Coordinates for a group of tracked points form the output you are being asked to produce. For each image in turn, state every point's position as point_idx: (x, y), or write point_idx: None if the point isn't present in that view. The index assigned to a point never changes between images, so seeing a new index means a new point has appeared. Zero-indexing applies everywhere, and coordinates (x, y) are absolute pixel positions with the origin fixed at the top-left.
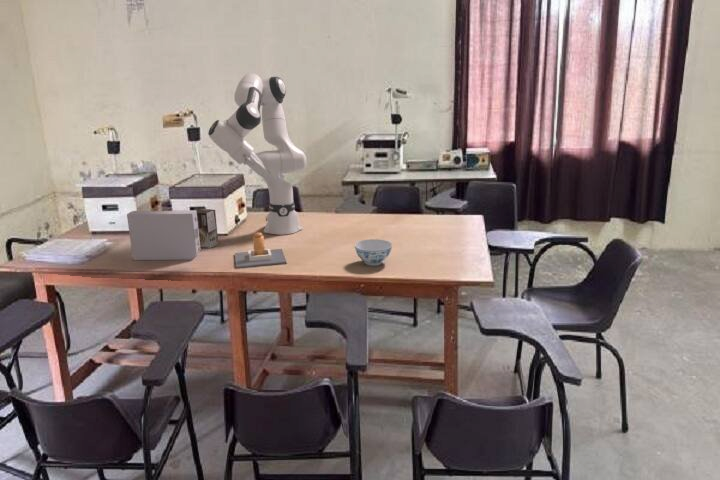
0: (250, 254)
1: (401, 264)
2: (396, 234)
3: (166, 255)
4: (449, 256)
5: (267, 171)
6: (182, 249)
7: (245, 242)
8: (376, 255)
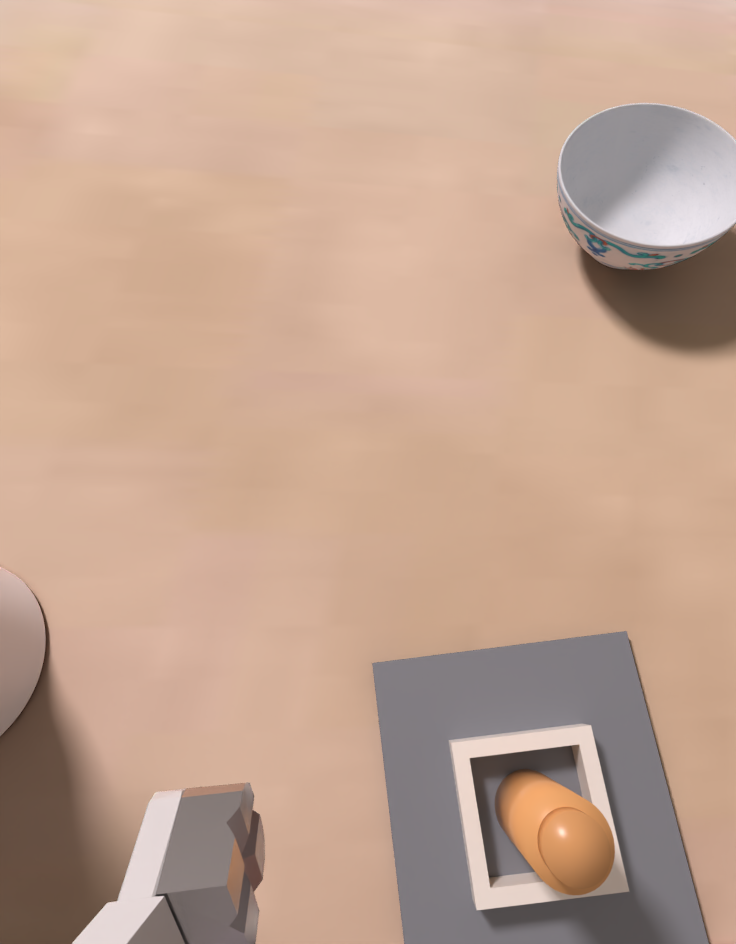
0: None
1: None
2: (220, 129)
3: None
4: (551, 9)
5: (237, 862)
6: None
7: None
8: (729, 187)
